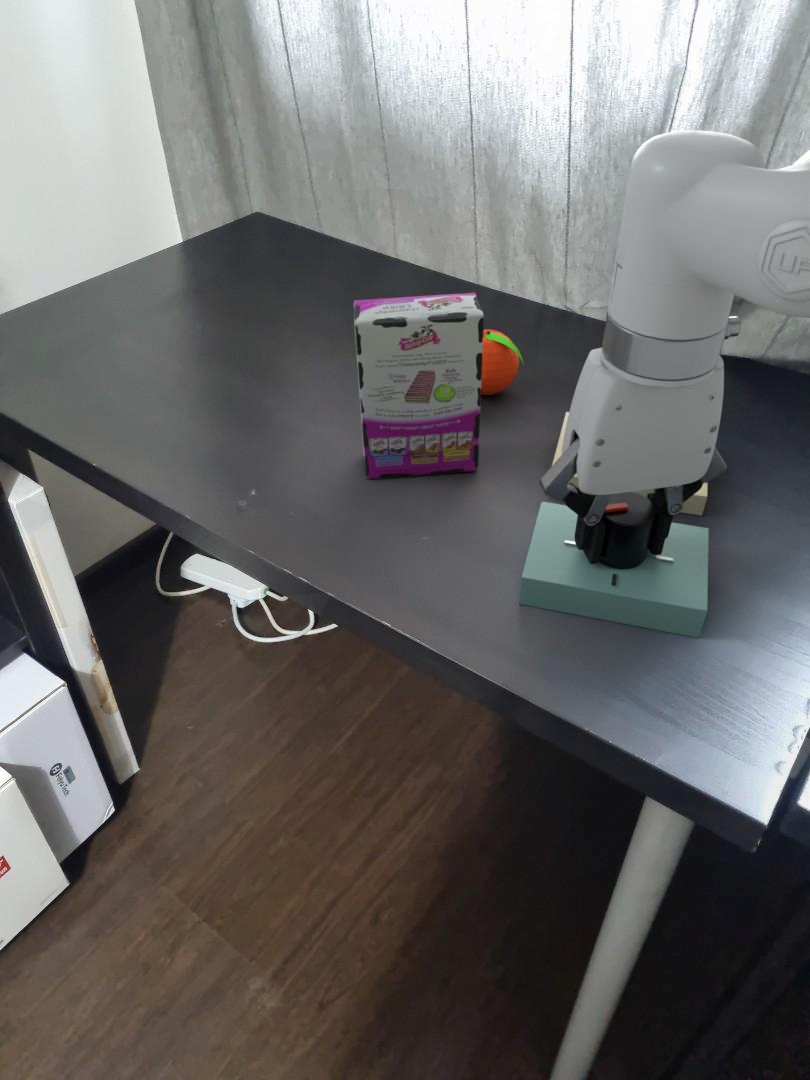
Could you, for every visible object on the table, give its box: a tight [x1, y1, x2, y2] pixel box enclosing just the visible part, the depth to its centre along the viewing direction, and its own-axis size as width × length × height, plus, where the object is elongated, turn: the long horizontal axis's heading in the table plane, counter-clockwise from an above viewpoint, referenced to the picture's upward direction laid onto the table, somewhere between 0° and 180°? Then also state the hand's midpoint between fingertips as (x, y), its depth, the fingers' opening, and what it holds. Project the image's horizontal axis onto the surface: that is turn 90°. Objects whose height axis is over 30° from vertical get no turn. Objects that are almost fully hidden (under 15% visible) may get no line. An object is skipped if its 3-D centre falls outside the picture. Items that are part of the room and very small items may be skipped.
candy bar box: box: [353, 292, 485, 480], centre depth 76 cm, size 11×5×16 cm, turn 95°
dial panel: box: [518, 501, 710, 639], centre depth 68 cm, size 14×10×3 cm
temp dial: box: [599, 492, 656, 569], centre depth 65 cm, size 4×4×5 cm
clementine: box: [481, 329, 525, 396], centre depth 89 cm, size 8×7×7 cm
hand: (619, 546), depth 66 cm, fingers closed on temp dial, 4 cm apart
